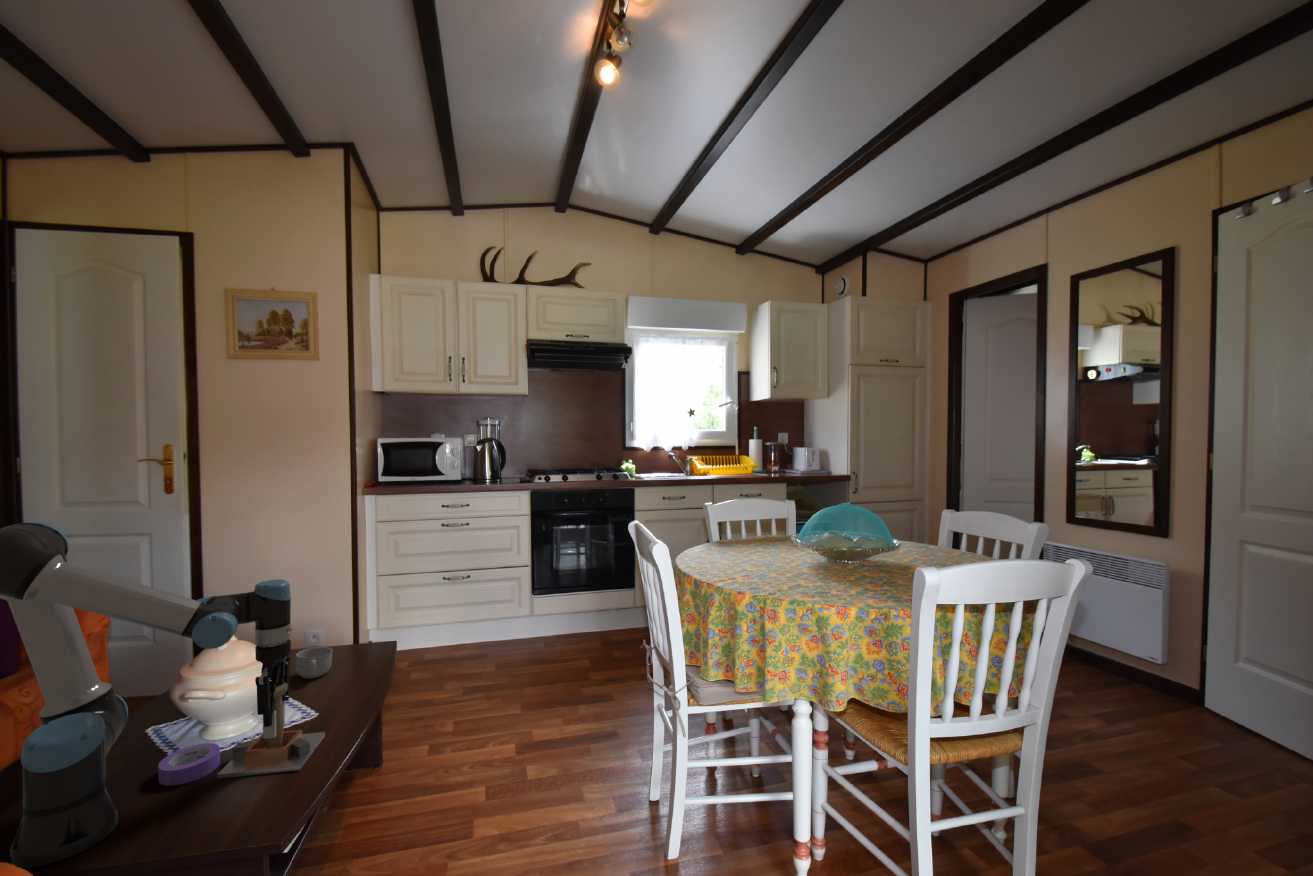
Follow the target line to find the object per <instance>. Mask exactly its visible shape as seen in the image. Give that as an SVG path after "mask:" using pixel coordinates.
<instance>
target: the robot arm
mask: <svg viewBox="0 0 1313 876" xmlns="http://www.w3.org/2000/svg"><path fill="white" fill-rule="evenodd" d="M69 546H70V544H69V539H68V538H67V535H66V534H65V533H64V532H63V531H62V530H61V529H60V528H58V527H56V526H54V525H51V524H48V523H46V522H45V523H44V522H39V521H38V522H37V521H35V522H34V521H30V522H21V523H14V524H11V525H7V526H4V527H1V528H0V599H1V600H3V601H4V600H5V601H6V602H7V604H8V606H9V609H10V612H11V614H12V617H13V619H14V622H15V625H16V627H17V630H18V632H19V635H20V638H21V640H22V643H23V645H24V649H25V651H26V654H27V656H28V659H29V662H30V664H31V667H32V670H33V672H34V675H35V678H36V680H37V683H38V685H39V688H40V691H41V693H42V696H43V698H44V701H45V703H44V705H43V706H42V709H41V710H40V711H39V713H38V716H39V718H40V721H41V726H39V727H37V728H36V729H34V730H33V731H32V732H31V733H30V734H28V736H26V738H25V740H24V742H23V743H22V744H23V745H22V749H21V750H22V751H21V752H20V763H21V777H22V778H21V779H22V780H21V781H22V782H21V783H22V819H21V821H20V823H19V826H18V828H17V831H16V834H15V836H14V838H13V841H12V843H11V845H10V849H9V857H10V856H11V858H13V861H14V862H10V864H11V863H14V864H15V865H17V866H19V867H18V868H20V867H22V868H21V869H23V868H24V869H26V868H36V867H42V866H47V865H51V864H54V863H57V862H60V861H64V860H65V859H68V858H71V857H73V856H76V855H77V854H80V853H82V852H84V851H86V850H88V849H90V848H92V847H93V846H95V845H97V844H98V843H100V842H101V841H103V840H104V839H106V837H107V836H110V835H111V833H112V832H113V831H114V830H115V828H116V827H117V825H118V822H119V820H118V819H119V816H118V815H119V814H118V809H117V807H116V806H115V805H114V803H113V801H112V799H111V796H110V795H109V793H108V790H107V788H106V787H107V786H106V785H107V784H106V758H107V755H108V753H109V751H110V750H111V749H112V747H113V746H114V744H115V742H116V741H117V740H118V738H119V737H120V735H121V734H122V732H123V731H124V729H125V727H126V725H127V721H128V716H129V709H128V704H127V703H126V700H124V699H123V697H121V696H120V695H118V694H115V691H114V689H113V686H112V684H111V683H110V682H109V683H108V682H104V681H101V680H100V678H99V676H98V672H97V670H96V667H95V664H94V660H93V659H92V656H91V653H90V650H89V648H88V645H87V643H86V639H85V636H84V634H83V632H82V631H83V630H82V628H81V625H80V623H79V620H78V617H77V613H76V611H75V610H74V609H77V610H81V611H85V612H89V613H92V614H97V615H100V616H104V617H108V618H112V619H115V620H119V621H123V622H126V623H131V624H135V625H138V626H143V627H147V628H150V629H154V630H157V631H162V632H166V633H169V634H173V635H177V636H181V637H183V638H188V639H190V640H193V642H194V643H195V644H196V645H197V646H198V647H200V648H202V649H205V650H206V649H207V650H213V649H217V648H221V647H223V646H224V645H226V644H227V643H228V642H230V641H231V640H232V638H233V637H234V635H235V634H236V633H237V629H238V626H239V625H244V624H251V623H255V627H254V630H255V632H254V635H255V636H254V643H255V647H254V648H255V651H254V652H255V660H256V661H257V662H259V663H261V665H262V666H261V670H260V671H261V674H260V676H256V677H255V678H254V681H255V686H256V708H257V709H256V710H257V712H256V713H257V715H258V716H261V715H262V733H263V739H265V738H275V737H276V711H274V705H275V698H274V692H275V691H276V685H283V684H284V683H287V684H288V688H287V691H286V692H285V694H283V695H282V705H283V717H284V728H285V727H286V712H285V711H286V706H285V705H286V702H287V701H289V700H290V696H289V694H290V663H291V656H290V654H292V653H291V652H292V640H291V639H290V638H291V632H292V631H293V628H292V627H291V618H292V617H291V614H292V613H291V611H292V610H291V601H292V597H291V585H290V583H289V581H288V580H285V579H269V580H264V581H261V582H258V583H256V585H254V590H253V591H252V590H251V591H249V592H240V593H233V594H231V593H230V594H225V595H212V596H209V597H204V598H199V599H197V600H196V599H191V598H190V597H189V598H188V597H185V596H183V595H182V596H181V595H179V594H175V593H171V592H168V591H164V590H162V589H158V588H156V587H155V588H154V587H151V586H148V585H144V584H140V583H138V582H134V581H131V580H128V579H124V578H121V577H118V576H114V575H111V574H107V573H104V572H99V571H97V570H93V569H90V568H87V567H84V566H80V565H76V564H73V563H69V562H68V560H67V555H68V553H69V548H70V547H69ZM271 693H272V695H271V696H270V694H271Z"/></svg>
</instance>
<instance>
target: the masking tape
mask: <svg viewBox="0 0 1313 876" xmlns="http://www.w3.org/2000/svg"><path fill="white" fill-rule="evenodd" d="M220 763H221V749H220V745H218V744H217V743H214V742H213V743H211V742H209V743H207V742H206V743H198V744H194V745H190V746H187V747H186V746H185V747H184V748H181V749H179V750H176V751H174V752H173V753H170V754H169V755H167V756H165V757H164V758H162V760H160V761H159V763H158V766H157V773H158V774H157V775H158V783H159V784H160V785H163V786H170V787H171V786H178V785H179V786H180V785H184V784H187V783H192V782H194V781H197V780H200V779H201V778H204V777H206V776H207V775H209V774H211V773H212V772H214V771H215V770H216V769H217V768H218V767H219V766H220Z"/></svg>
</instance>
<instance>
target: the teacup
mask: <svg viewBox="0 0 1313 876" xmlns="http://www.w3.org/2000/svg"><path fill="white" fill-rule="evenodd" d="M333 652H334V650H333V648H331V647H325V646H324V647H323V646H321V647H320V646H319V647H310V648H306V649H303V650H300V651H298V652H297V653H296V654H295V670H296V673H297V675H298V676H300V677H301V678H303V679H315V678H319V677H323V676H324V675H325V674H326V673H327V672H329V670H330V669H331V667H332V663H333Z"/></svg>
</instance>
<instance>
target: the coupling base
mask: <svg viewBox="0 0 1313 876" xmlns="http://www.w3.org/2000/svg"><path fill="white" fill-rule="evenodd" d="M325 737H326V731H321V732H311V733H309V732H308V733H303V729H297V730H296V729H295V730H285V731H283V738H282V745H281V746H280V747H272V748H268V747H267V744H268V742H267V740H266V738H265V739H263V732H262V733H261V734H260V735H259V736H258V737H256V738H255V737H254V738H251V739H250V740H249V741H243V742H237V743H236V744H235V745H234V746H233V747H232V749H231V750H232V759H231V760H230V761H228V763H227V764H226V765H225V766H224V767H223V768H222V769H221V770H220V771H219V772H218V773H217V775H216V779H217V780H218V779H228V778H238V777H248V776H249V777H250V776H256V775H257V776H259V775H267V774H276V773H287V772H296V771H301V769H302V768H303V766H304V765H305V763H306V762H307V761H308V759H310V757H311V756H312V754H313V753H314V751H315V750H316V749H317V748H318V746H319V744H321V742H322V741H323V739H324V738H325Z"/></svg>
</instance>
